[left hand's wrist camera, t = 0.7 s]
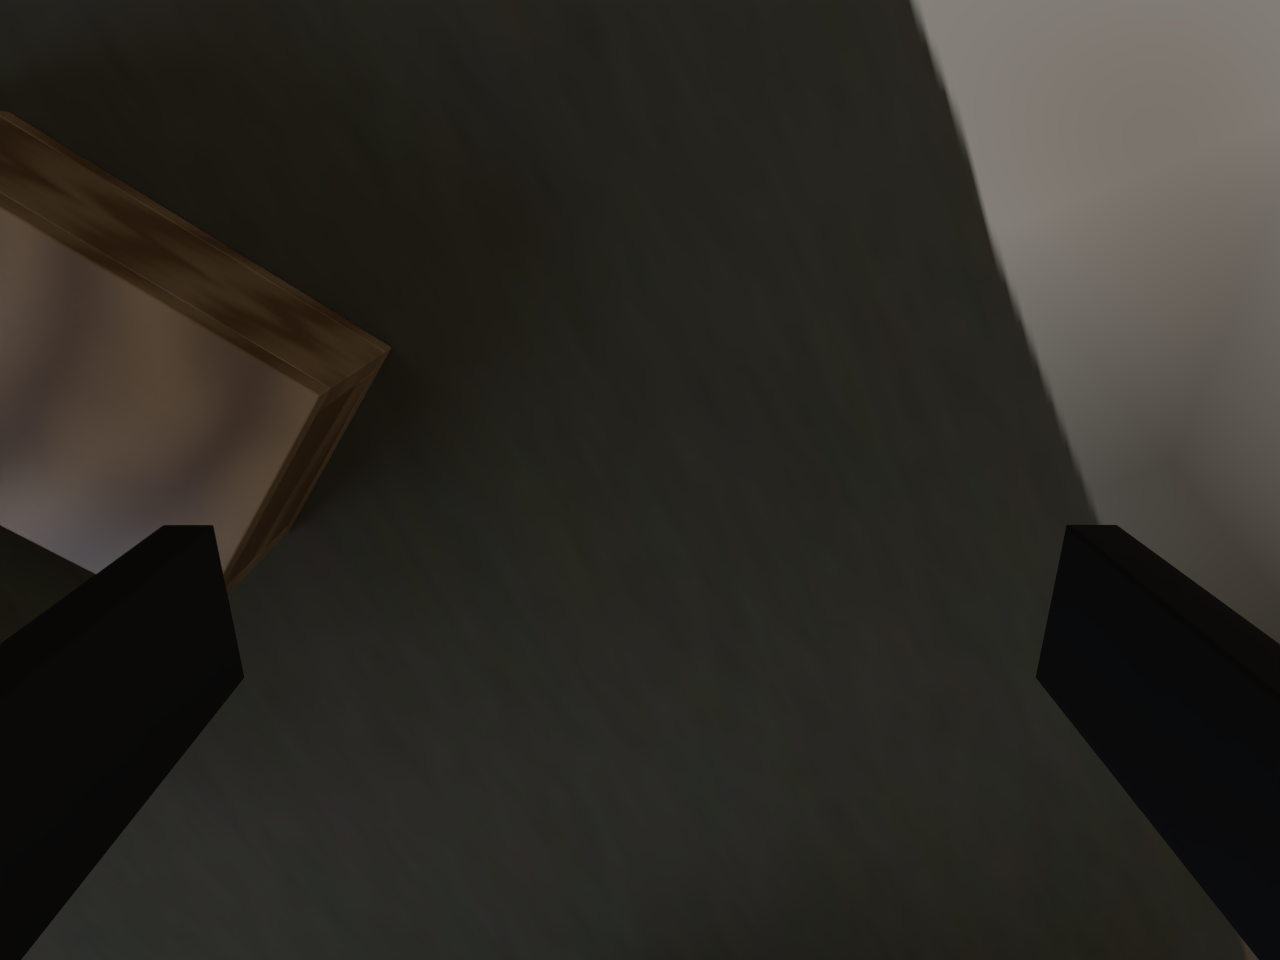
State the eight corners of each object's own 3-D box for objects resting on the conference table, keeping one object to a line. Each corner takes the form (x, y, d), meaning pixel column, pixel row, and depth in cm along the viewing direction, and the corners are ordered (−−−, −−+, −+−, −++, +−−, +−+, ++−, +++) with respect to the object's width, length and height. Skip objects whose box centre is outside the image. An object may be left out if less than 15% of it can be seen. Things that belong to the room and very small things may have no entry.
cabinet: (-72, 336, 37) (-282, 381, 28) (8, 111, 33) (-202, 87, 25) (287, 534, 40) (195, 626, 32) (392, 347, 37) (319, 395, 28)
